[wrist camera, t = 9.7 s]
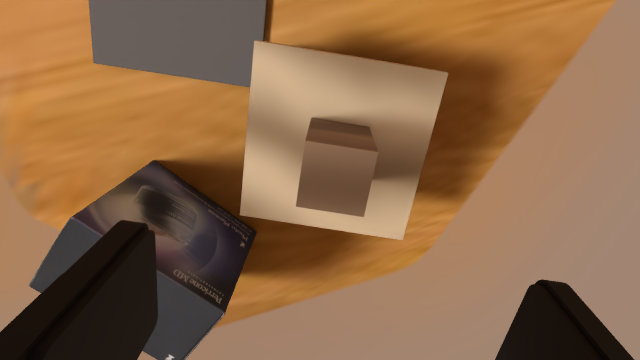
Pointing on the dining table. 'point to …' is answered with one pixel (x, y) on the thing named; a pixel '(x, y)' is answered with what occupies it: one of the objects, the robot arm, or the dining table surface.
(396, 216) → the lid
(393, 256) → the dining table surface
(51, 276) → the small box
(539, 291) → the robot arm
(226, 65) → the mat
